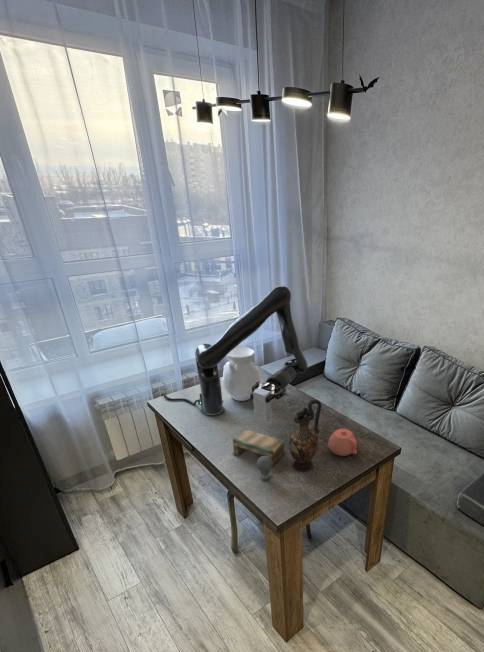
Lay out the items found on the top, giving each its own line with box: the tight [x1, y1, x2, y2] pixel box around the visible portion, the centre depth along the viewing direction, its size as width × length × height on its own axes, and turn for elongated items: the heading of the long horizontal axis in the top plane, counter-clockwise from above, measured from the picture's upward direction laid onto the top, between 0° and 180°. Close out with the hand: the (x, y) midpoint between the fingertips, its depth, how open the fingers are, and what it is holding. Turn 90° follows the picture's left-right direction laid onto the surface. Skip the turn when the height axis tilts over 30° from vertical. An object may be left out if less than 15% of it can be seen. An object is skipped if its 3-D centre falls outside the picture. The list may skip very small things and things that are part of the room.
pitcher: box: [222, 346, 261, 402], centre depth 198 cm, size 19×18×25 cm
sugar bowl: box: [327, 428, 358, 457], centre depth 166 cm, size 12×14×10 cm
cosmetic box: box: [252, 388, 273, 422], centre depth 160 cm, size 6×4×12 cm
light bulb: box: [256, 455, 274, 480], centre depth 149 cm, size 6×6×10 cm
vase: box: [287, 399, 322, 472], centre depth 151 cm, size 12×12×30 cm
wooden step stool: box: [232, 429, 285, 466], centre depth 163 cm, size 18×10×8 cm, turn 67°
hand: (258, 398), depth 156 cm, fingers closed on cosmetic box, 6 cm apart
